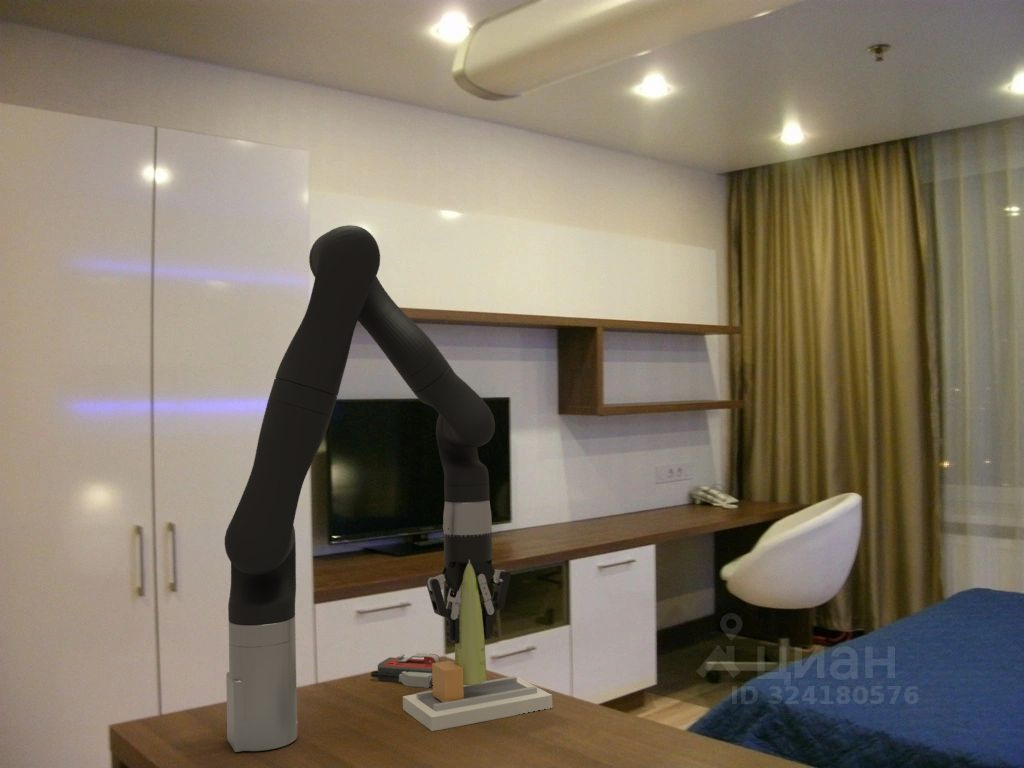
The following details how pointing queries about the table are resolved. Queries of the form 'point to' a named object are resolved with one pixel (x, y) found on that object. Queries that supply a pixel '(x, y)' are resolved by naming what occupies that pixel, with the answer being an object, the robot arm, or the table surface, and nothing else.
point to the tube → (471, 632)
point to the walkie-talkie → (408, 670)
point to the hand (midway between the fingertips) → (470, 639)
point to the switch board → (477, 703)
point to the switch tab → (447, 681)
